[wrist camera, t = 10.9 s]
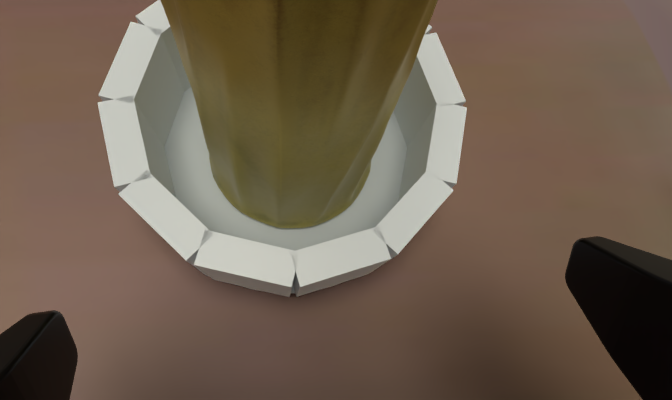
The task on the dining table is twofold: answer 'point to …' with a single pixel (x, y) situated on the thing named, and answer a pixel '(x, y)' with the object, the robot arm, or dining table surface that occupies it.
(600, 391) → the dining table surface
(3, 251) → the dining table surface
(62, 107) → the dining table surface
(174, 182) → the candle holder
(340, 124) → the vase
